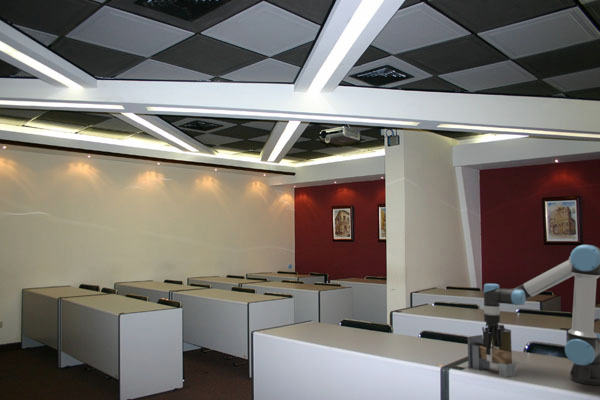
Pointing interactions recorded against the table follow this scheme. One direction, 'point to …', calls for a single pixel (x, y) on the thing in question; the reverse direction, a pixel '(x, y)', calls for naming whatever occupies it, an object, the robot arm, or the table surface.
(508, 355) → the rail
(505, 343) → the canister
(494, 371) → the table surface
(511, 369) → the block
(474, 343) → the bracket
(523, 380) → the table surface
